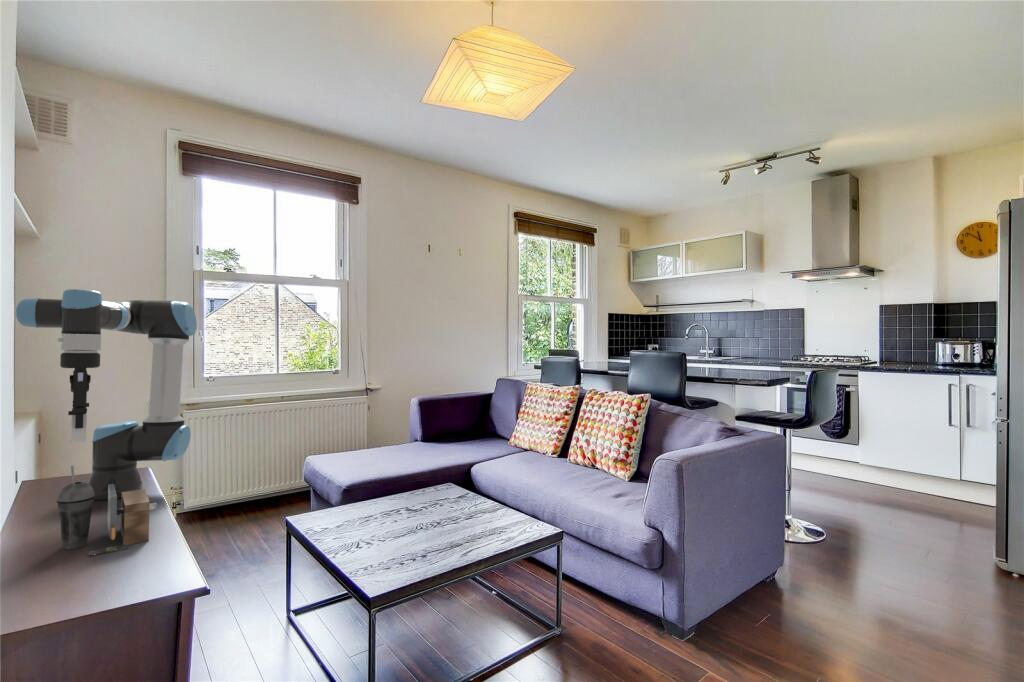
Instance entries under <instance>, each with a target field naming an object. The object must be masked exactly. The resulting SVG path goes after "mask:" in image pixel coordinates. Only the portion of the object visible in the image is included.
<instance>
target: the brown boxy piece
mask: <svg viewBox="0 0 1024 682" xmlns="http://www.w3.org/2000/svg"><path fill="white" fill-rule="evenodd" d="M120 501H121V502H120V503H121V504H120V508H123V514H120V534H121V537H122V544H121V545H114V546H110V547H109V546H108V547H106V548H101V549H96V550H95V549H94V550H91V551H88V557H91V556H90V555H94V554H99V555H101V554H100V553H104V554H107V553H106V552H109V553H112V552H111V551H114V552H119V551H118V550H120V551H124V550H123V549H125V550H128V546H130V545H134V544H135V543H136V544H140V542H141V543H144V541H146V542H149V539H150V534H149V533H150V510H149V509H150V499H149V497H148V495H147V492H146V490H145V488H142V489H141V490H134V491H126V492H122V495H121V498H120ZM94 556H95V555H94Z"/></svg>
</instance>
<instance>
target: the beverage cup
mask: <svg viewBox="0 0 1024 682" xmlns="http://www.w3.org/2000/svg"><path fill="white" fill-rule="evenodd" d="M70 470H71V471H70V472H71V481H72V482H71V483H69V484H67V485H66V486H64V487H63V488H62V489H61V490H60V492H59V494H58V497H57V499H56V504H57V508H58V511H59V522H60V533H61V535H60V536H61V542H62V543H61V544H62V549H63V550H73V549H78V547H79V548H82V547H84V546H86V545H88V538H89V533H90V532H89V531H90V525H91V524H90V523H91V518H92V510H93V505H94V503H95V500H94V498H95V493H94V490H93V488H92V487H91V486H90V485H89V484H88V482H84V481H76V478H75V467H74V465H70ZM81 546H82V547H81Z"/></svg>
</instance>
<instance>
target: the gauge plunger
mask: <svg viewBox="0 0 1024 682" xmlns="http://www.w3.org/2000/svg"><path fill="white" fill-rule="evenodd" d="M157 508H158V503H157V502H152V503H150V509H149V511H151V510H156V509H157ZM121 514H123V508H121V507H119V508H118V498H117V494H116V490H115V485H114V484H109V485H108V499H107V519H106V520H107V523H106V524H107V529H108V535H109V537H108V538H109V539H111V540H112V541H113V540H115V539H116V537H117V516H121Z"/></svg>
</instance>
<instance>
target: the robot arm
mask: <svg viewBox="0 0 1024 682" xmlns="http://www.w3.org/2000/svg"><path fill="white" fill-rule="evenodd" d="M15 316H16V319H17V322H19V324H20V325H22V326H24V327H27V328H36V329H37V328H38V329H39V328H40V329H41V328H42V329H43V328H49V329H50V328H53V329H56V328H57V329H61V333H60V334H61V337H58V338H57V342H59V343H61V345H60V349H61V351H64V352H61V353H60V357H59V358H60V362H59V365H60V367H61V368H63V369H74V370H73V371H72V373H73V374H70V375H69V383H70V392H72V395H73V396H72V409H71V410H68V414H67V415H68V416H71V426H70V427H71V432H70V433H71V434H70V438H71V439H70V443H82V442H87V420H88V417H87V416H88V414H87V413H88V408H89V407H90V402H87V401H88V400H87V398H88V397H87V396H88V392H89V390H90V383H91V380H92V378H91V377H92V376H91V374H88V371H87V369H97V368H100V366H101V353H99V351H101V350H102V330H106V331H112V332H123V333H130V334H136V335H147V339H148V341H149V342H150V343H151V344H152V357H151V373H150V389H149V390H150V391H149V392H150V393H149V405H148V407H149V408H148V416H147V417H145V418H144V419H143V420H142V425H139V422H138V421H137V420H136V421H135V420H132V421H131V420H130V421H124V422H123V421H122V422H116V423H110V424H104V425H102V426H98V427H96V428H95V429H94V430H93V436H92V441H91V443H92V458H91V460H92V462H91V474H90V477H89V479H88V481H87V484H89V485H90V486H91V487H92V488H93V490H94V493H95V498H94V501H101V500H102V501H104V500H105V501H106V500H108V485H109V484H114V485H115V490H116V494H117V499H121V498H120V497H121V495H122V492H126V491H134V490H141V489H144V488H143V487H144V486H143V481H142V479H141V476H140V472H139V469H138V466H137V465H138V462H153V461H154V462H156V461H162V462H167V461H176V460H180V458H182V457H183V456H184V455H185V453H186V451H187V450H188V448H189V444H190V442H191V436H192V432H191V427H190V426H189V425H187V424H185V418H183V417H182V416H181V415H180V410H181V409H180V408H181V395H182V394H181V393H182V379H183V378H182V375H183V373H182V372H183V361H184V360H183V359H184V357H183V356H184V346H185V345H186V344H187V343H188V342H190V337H191V336H194V335H195V334H196V333H197V331H196V330H197V326H198V325H197V324H198V323H197V318H196V317H197V316H196V313H195V311H194V308H193V307H192V305H191V304H189V303H188V302H185V301H178V300H148V299H147V300H146V299H136V300H135V299H134V300H123V301H120V300H119V301H117V300H115V301H114V300H113V301H112V300H111V301H110V300H109V301H107V300H103V296H102V293H101V291H97V290H91V289H79V288H78V289H77V288H76V289H75V288H72V289H71V288H68V289H66V290H64V291H63V292H62V299H59V298H58V299H56V298H54V299H53V298H39V297H35V298H24V299H21V300H20V301H19V302H18V303H17V306H16V308H15Z"/></svg>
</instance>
